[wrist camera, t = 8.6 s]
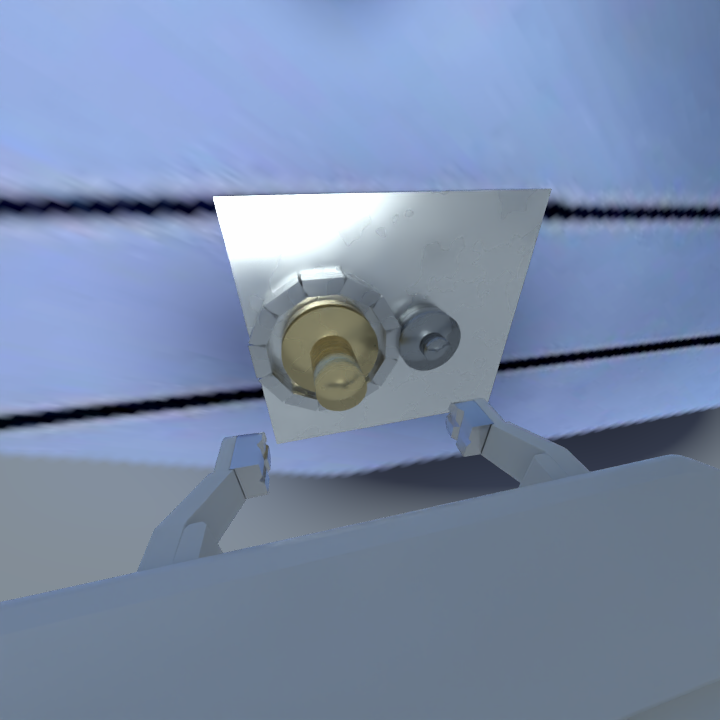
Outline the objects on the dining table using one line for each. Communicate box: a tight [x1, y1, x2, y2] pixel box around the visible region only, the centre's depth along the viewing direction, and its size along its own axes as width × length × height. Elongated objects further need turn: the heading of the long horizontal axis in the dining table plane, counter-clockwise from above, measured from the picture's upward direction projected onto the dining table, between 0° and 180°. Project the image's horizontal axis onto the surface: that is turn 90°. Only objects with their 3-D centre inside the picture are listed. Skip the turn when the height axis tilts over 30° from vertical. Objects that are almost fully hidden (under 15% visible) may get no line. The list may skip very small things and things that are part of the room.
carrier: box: [213, 189, 551, 444], centre depth 19 cm, size 20×18×4 cm
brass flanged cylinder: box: [281, 300, 378, 411], centre depth 17 cm, size 6×6×6 cm
